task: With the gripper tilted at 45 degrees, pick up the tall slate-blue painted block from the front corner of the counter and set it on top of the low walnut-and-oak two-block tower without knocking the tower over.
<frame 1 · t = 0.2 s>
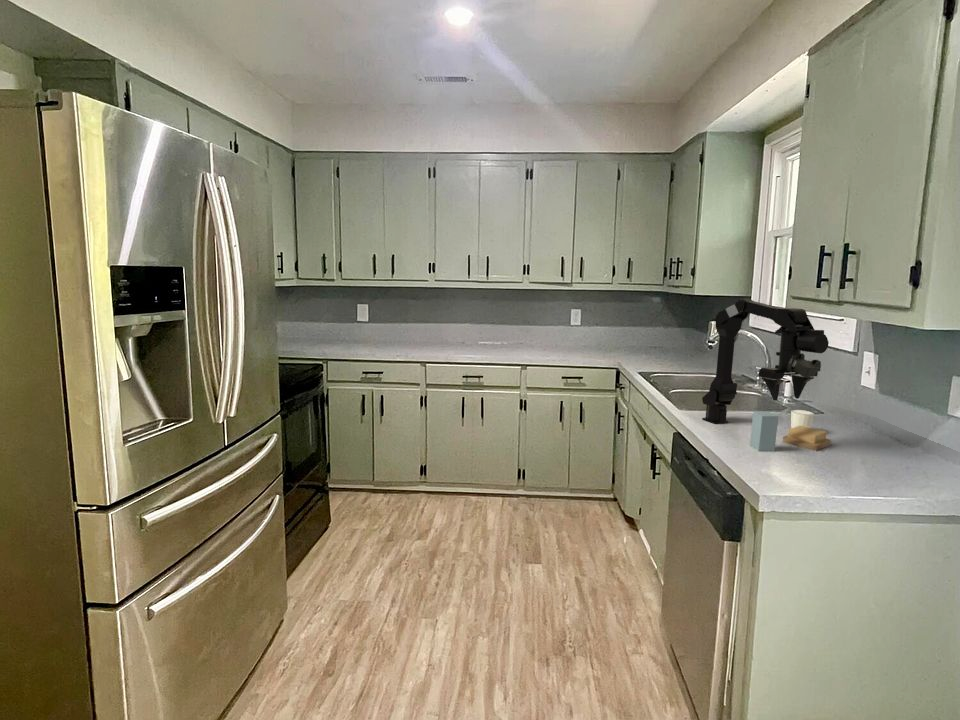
hand: (786, 399, 177), 14 cm above the worktop, tool pointing down, fingers open, 9 cm apart
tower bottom: (805, 445, 181), on the worktop, touching tower top
tower top: (806, 438, 181), point 2 cm above the worktop, touching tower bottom
shot glass: (800, 432, 194), on the worktop
tall block: (761, 448, 175), on the worktop
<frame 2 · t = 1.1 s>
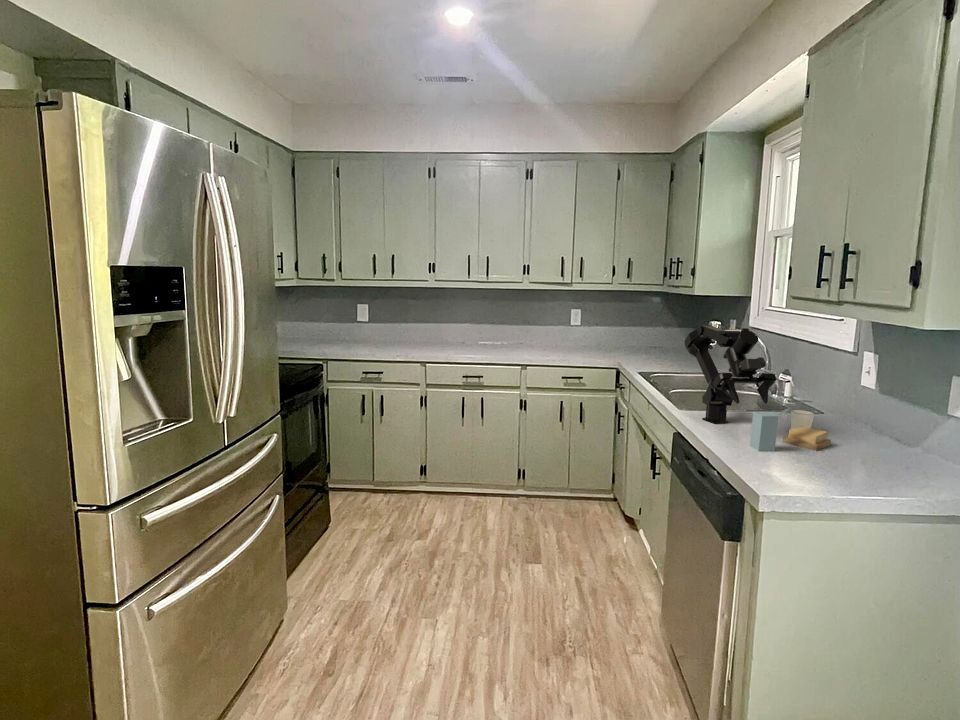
hand: (752, 403, 181), 12 cm above the worktop, tool tilted 45°, fingers open, 9 cm apart
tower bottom: (805, 445, 181), on the worktop
tower top: (807, 438, 180), point 2 cm above the worktop
everything else where it was.
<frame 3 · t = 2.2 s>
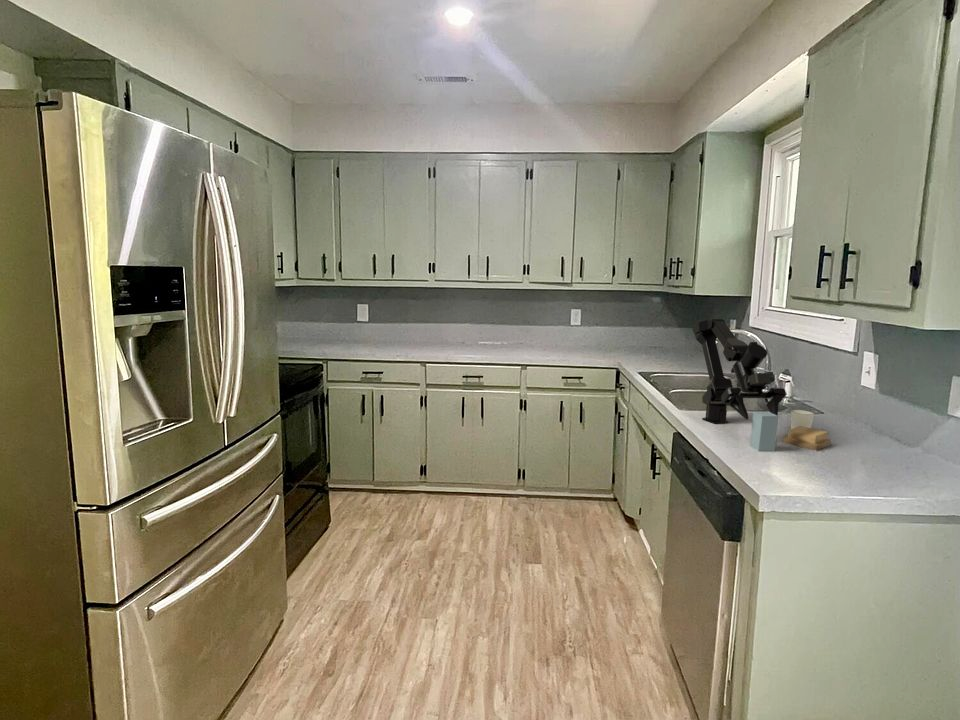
hand: (761, 418, 175), 9 cm above the worktop, tool tilted 45°, fingers open, 9 cm apart
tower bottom: (805, 445, 181), on the worktop, touching tower top
tower top: (807, 438, 180), point 2 cm above the worktop, touching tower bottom
everything else where it was.
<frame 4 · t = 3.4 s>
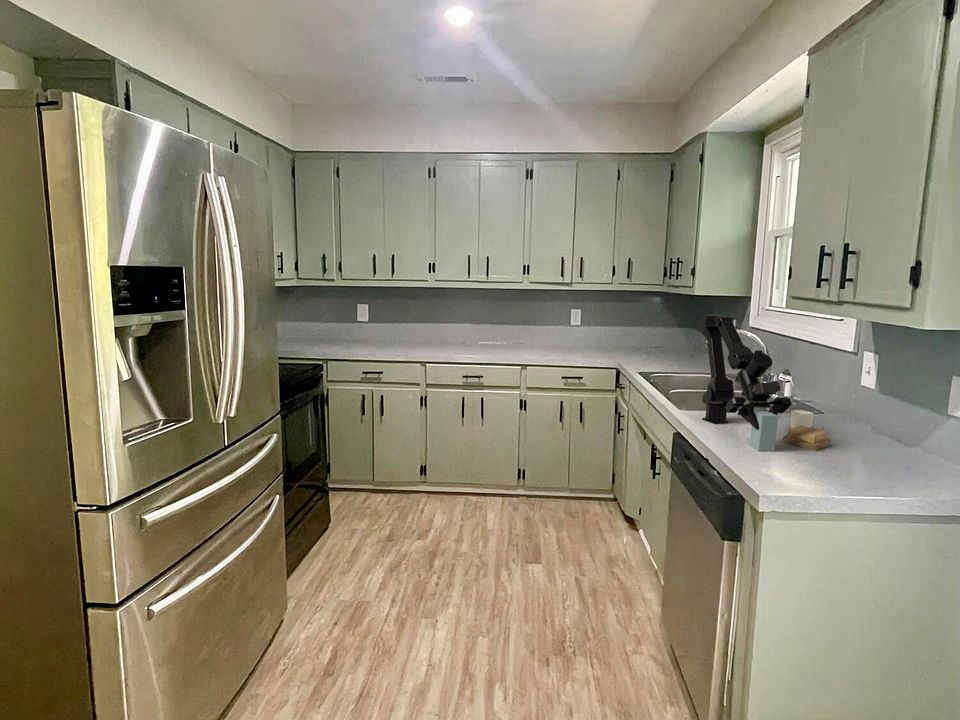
hand: (766, 429, 172), 7 cm above the worktop, tool tilted 45°, fingers closed on tall block, 5 cm apart
tall block: (761, 448, 175), on the worktop, touching gripper
everything else where it was.
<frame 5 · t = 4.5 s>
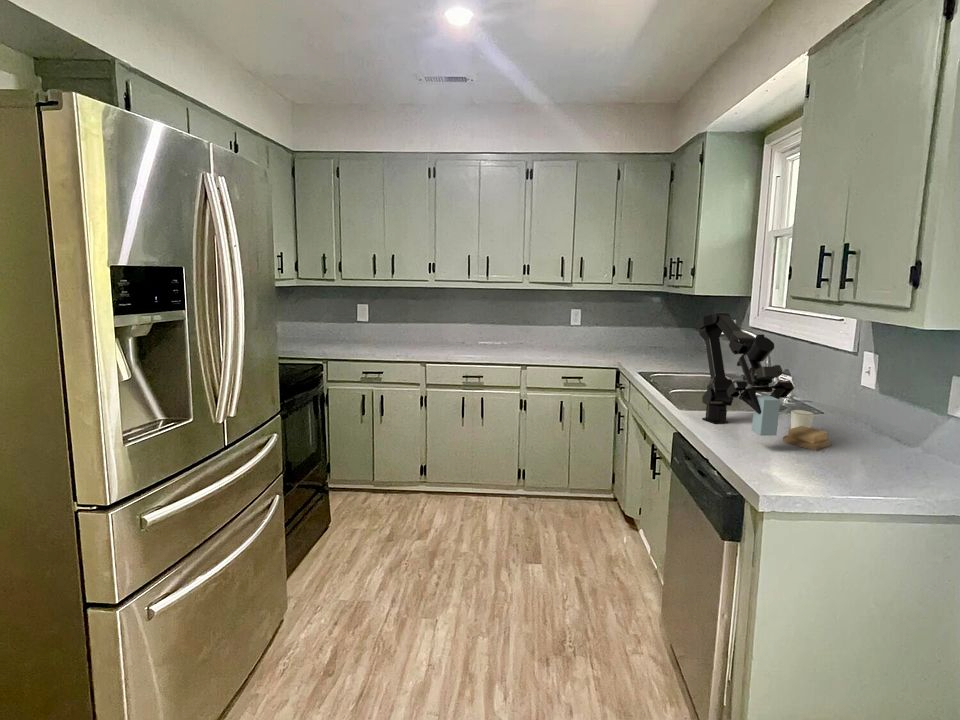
hand: (768, 413, 171), 12 cm above the worktop, tool tilted 45°, fingers closed on tall block, 5 cm apart
tall block: (763, 433, 174), point 5 cm above the worktop, touching gripper
everything else where it was.
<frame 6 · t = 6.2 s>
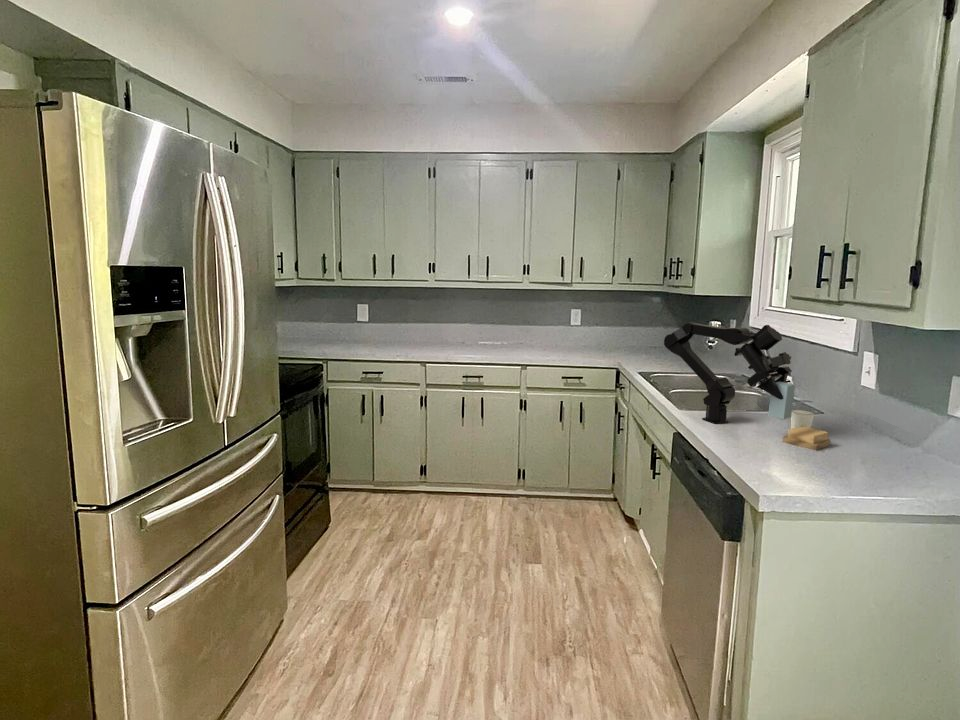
hand: (786, 397, 184), 13 cm above the worktop, tool tilted 45°, fingers closed on tall block, 5 cm apart
tall block: (779, 416, 186), point 7 cm above the worktop, touching gripper
everything else where it was.
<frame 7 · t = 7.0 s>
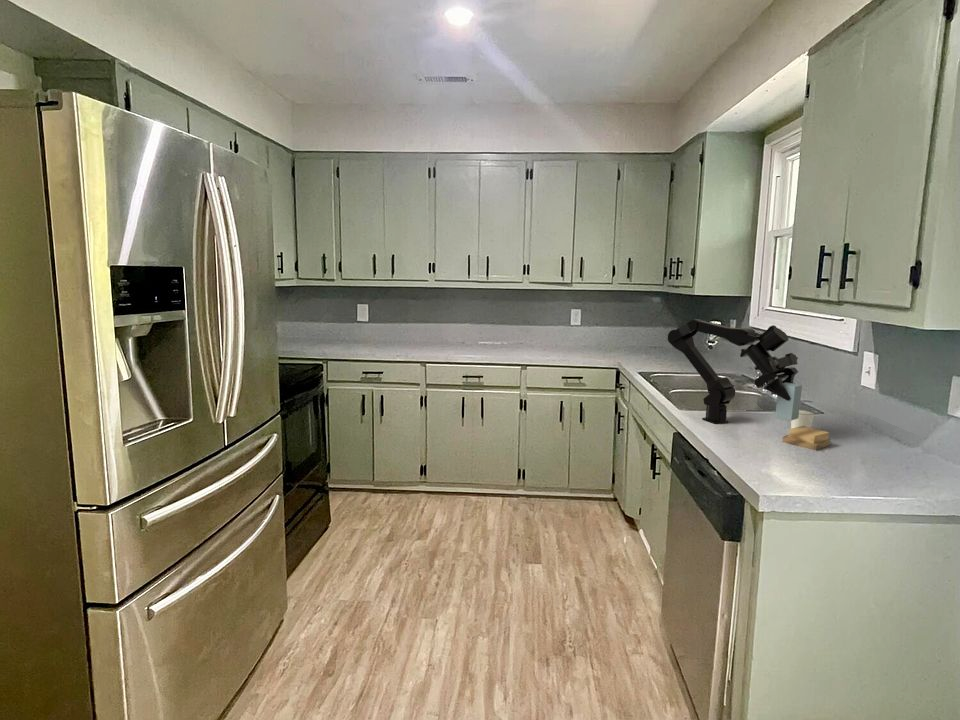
hand: (793, 398, 183), 13 cm above the worktop, tool tilted 45°, fingers closed on tall block, 5 cm apart
tall block: (786, 417, 185), point 7 cm above the worktop, touching gripper
everything else where it was.
when the fingers open (13 cm above the worktop, at t = 8.8 s): tall block drops 2 cm, resting on tower top.
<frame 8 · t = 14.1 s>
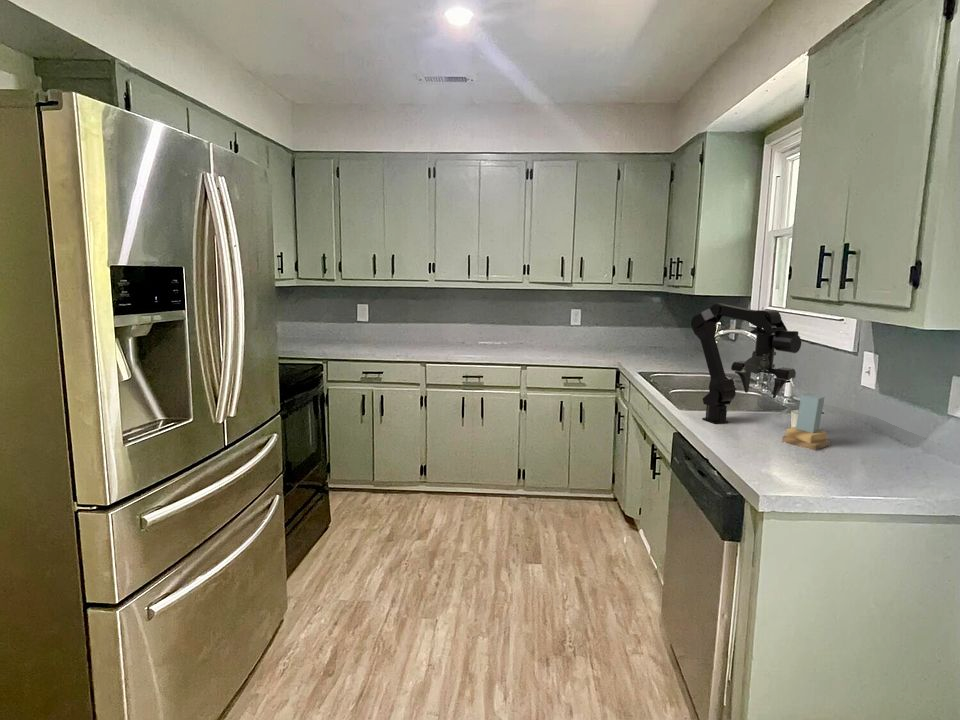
hand: (759, 395, 189), 13 cm above the worktop, tool pointing down, fingers open, 9 cm apart
tower top: (805, 437, 181), point 2 cm above the worktop, touching tall block, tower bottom
tall block: (807, 429, 181), point 4 cm above the worktop, touching tower top
everything else where it was.
at the end: tall block 0.5 cm off-centre on the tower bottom, point 5.0 cm above the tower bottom's base; tall block tilted 1°; tower top 0.4 cm off-centre on the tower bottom, point 2.5 cm above the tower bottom's base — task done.
